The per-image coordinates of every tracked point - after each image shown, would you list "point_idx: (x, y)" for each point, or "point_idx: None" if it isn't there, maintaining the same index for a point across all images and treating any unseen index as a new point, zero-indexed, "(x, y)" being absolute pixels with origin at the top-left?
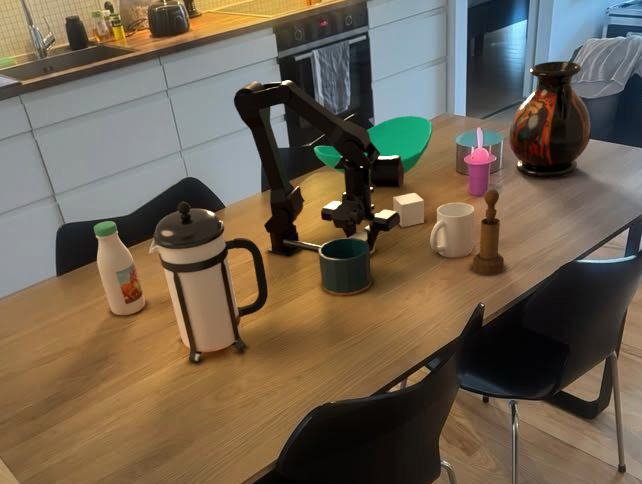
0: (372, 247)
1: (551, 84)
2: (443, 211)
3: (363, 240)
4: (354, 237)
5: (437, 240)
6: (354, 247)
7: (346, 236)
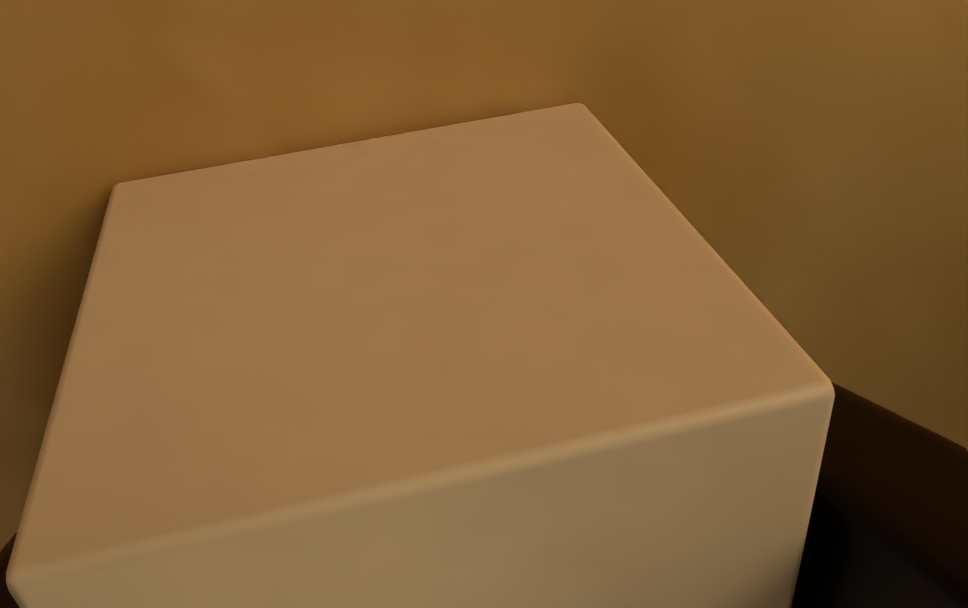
0: None
1: None
2: None
3: (93, 603)
4: (622, 538)
5: None
6: None
7: (954, 442)
